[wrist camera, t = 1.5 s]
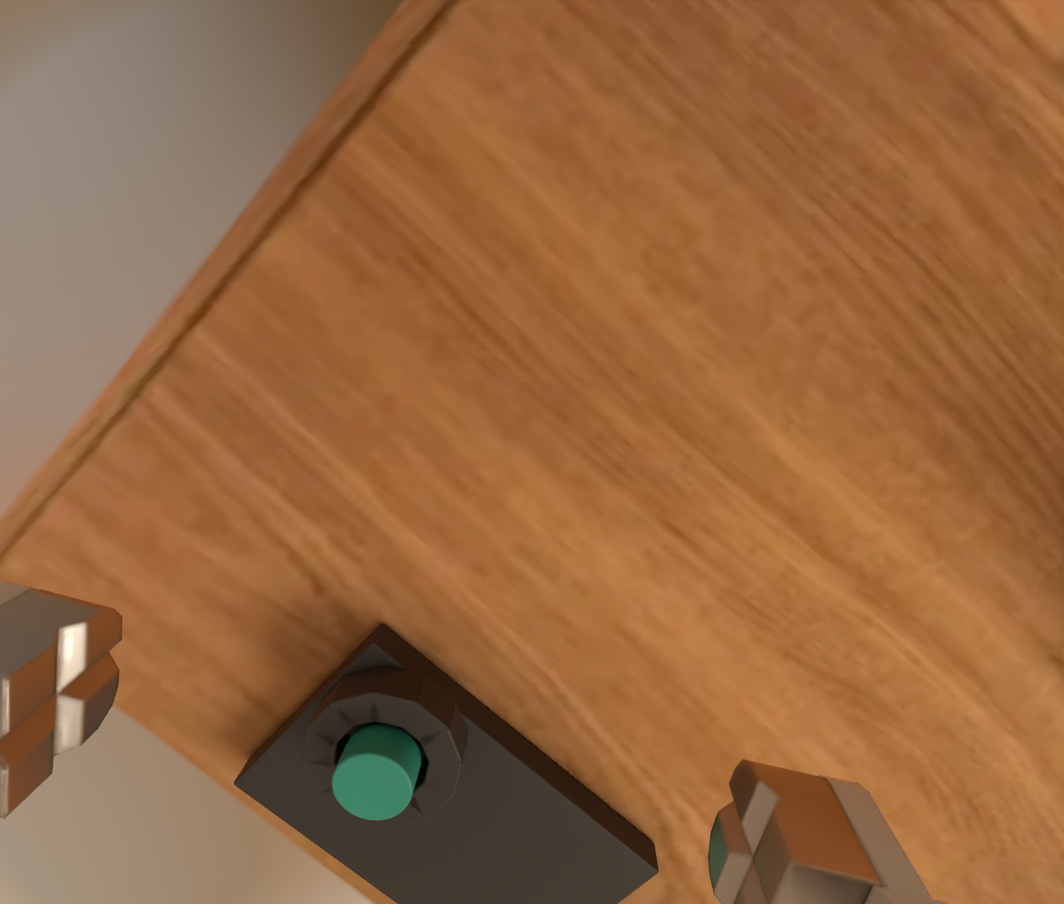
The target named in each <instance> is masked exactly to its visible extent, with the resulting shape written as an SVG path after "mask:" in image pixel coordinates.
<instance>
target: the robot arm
mask: <svg viewBox="0 0 1064 904" xmlns="http://www.w3.org/2000/svg"><path fill="white" fill-rule="evenodd" d="M121 640H122V616H121V615H120V614H119V613H118V612H117V611H116V610H115V609H114V608H110V607H106V606H102V605H98V604H94V603H91V602H87V601H83V600H79V599H75V598H72V597H68V596H64V595H60V594H56V593H52V592H49V591H45V590H37V589H35V588H32V587H28V586H24V585H20V584H16V583H12V582H8V581H4V580H0V818H4V819H5V818H6V817H7V816H8V815H9V814H10V813H11V812H12V811H13V810H14V809H15V808H16V807H17V806H18V805H19V804H20V803H21V802H23V800H25V799H26V798H27V797H28V796H29V795H30V794H31V793H32V792H33V791H34V790H35V789H36V788H37V787H38V786H39V785H40V784H41V783H42V782H43V781H45V779H47V778H48V777H49V776H50V775H51V774H52V769H53V758H54V756H56V755H58V754H61V753H63V752H66V751H69V750H71V749H74V748H76V747H79V746H81V745H82V744H83V743H84V742H85V741H86V740H87V739H88V738H89V737H90V736H91V735H92V734H93V733H94V732H95V731H96V730H97V729H98V728H99V726H100V724H101V723H102V721H103V719H104V718H105V716H106V715H107V713H108V711H109V709H110V708H111V707H112V704H113V701H114V698H115V695H116V692H117V688H118V682H119V671H120V670H119V668H118V666H117V665H116V663H115V661H114V659H113V658H112V656H111V654H110V653H109V651H110V650H111V649H112V648H113V647H114V646H115V645H116V644H117V643H119V642H120V641H121ZM729 785H730V789H731V792H732V795H733V798H734V801H733V802H731V803H730V804H728V805H727V806H725V807H724V808H722V809H721V810H719V811H718V813H717V816H716V819H715V822H714V825H713V828H712V830H711V835H710V844H709V853H708V860H709V873H710V879H711V883H712V888H713V892H714V895H715V896H716V898H717V899H718V900H719V901H720V902H721V904H947V903H945V902H941V901H937V900H933V899H932V898H931V896H930V894H929V893H928V891H927V889H926V888H925V886H924V884H923V882H922V881H921V879H920V877H919V876H918V874H917V872H916V871H915V869H914V867H913V866H912V864H911V862H910V861H909V859H908V857H907V856H906V854H905V852H904V851H903V849H902V847H901V845H900V844H899V842H898V840H897V839H896V837H895V835H894V834H893V832H892V830H891V829H890V827H889V825H888V824H887V822H886V820H885V819H884V817H883V815H882V814H881V812H880V810H879V808H878V807H877V805H876V803H875V802H874V800H873V798H872V797H871V795H870V793H869V792H868V791H867V790H866V789H865V788H864V787H862V786H861V785H860V784H859V783H855V782H850V781H846V780H841V779H836V778H831V777H826V776H821V775H819V776H815V775H811V774H806V773H802V772H798V771H793V770H789V769H785V768H780V767H776V766H772V765H767V764H763V763H759V762H754V761H750V760H746V759H742V761H741V762H740V763H739V764H738V765H737V766H736V768H735V770H734V772H733V775H732V777H731V780H730V782H729Z"/></svg>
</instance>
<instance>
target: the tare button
mask: <svg viewBox="0 0 1064 904" xmlns="http://www.w3.org/2000/svg"><path fill="white" fill-rule="evenodd" d="M420 766H421V754H420V750H419V748H418V746H417V744H416V742H415V741H414V739H413V738H412V737H411V736H410V735H409V734H407V733H406V732H405V731H403V730H401V729H399V728H397V727H395V726H391V725H386V724H373V725H369V726H365V727H363V728H361V729H359V730H358V731H356V732H355V733H354V734H353V735H352V736H351V737H350V739H349V740H348V742H347V744H346V746H345V749H344V751H343V753H342V755H341V757H340V759H339V762H338V764H337V766H336V768H335V770H334V773H333V776H332V789H333V793H334V795H335V797H336V799H337V801H338V802H339V804H340V805H341V806H342V807H343V808H344V809H346V810H347V811H348V812H350V813H351V814H353V815H355V816H357V817H360V818H363V819H368V820H385V819H389V818H392V817H394V816H396V815H398V814H399V813H401V812H402V811H403V810H404V809H405V808H406V807H407V805H408V804H409V802H410V800H411V797H412V794H413V791H414V787H415V784H416V780H417V777H418V773H419V770H420Z"/></svg>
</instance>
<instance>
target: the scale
mask: <svg viewBox="0 0 1064 904" xmlns="http://www.w3.org/2000/svg"><path fill="white" fill-rule="evenodd" d="M373 724H386V725H391V726H395V727H397V728H399V729H401V730H403V731H405V732H406V733H407V734H409V735H410V736H411V737H412V738H413V739H414V741H415V742H416V744H417V746H418V748H419V750H420V754H421V766H420V770H419V773H418V777H417V780H416V784H415V787H414V791H413V794H412V797H411V800H410V802H409V804H408V805H407V807H406V808H405V809H404V810H403V811H402V812H401V813H399V814H398V815H396V816H394V817H392V818H389V819H385V820H368V819H363V818H360V817H357V816H355V815H353V814H351V813H350V812H348V811H347V810H346V809H344V808H343V807H342V806H341V805H340V804H339V802H338V801H337V799H336V797H335V795H334V793H333V789H332V776H333V773H334V770H335V768H336V766H337V764H338V762H339V759H340V757H341V755H342V753H343V751H344V749H345V746H346V744H347V742H348V740H349V739H350V737H351V736H352V735H353V734H354V733H355V732H356V731H358V730H359V729H361V728H363V727H365V726H369V725H373ZM234 785H235V786H237V787H238V788H239V789H241V790H242V791H244V792H245V793H246V794H248V795H249V796H250V797H252V798H253V799H255V800H256V801H257V802H259V803H260V804H261V805H263V806H264V807H266V808H267V809H268V810H270V811H271V812H272V813H274V814H275V815H277V816H278V817H279V818H281V819H282V820H283V821H285V822H286V823H288V824H289V825H290V826H292V827H293V828H294V829H296V830H297V831H299V832H300V833H301V834H303V835H304V836H305V837H307V838H308V839H310V840H311V841H312V842H314V843H315V844H316V845H318V846H319V847H321V848H322V849H323V850H325V851H326V852H327V853H329V854H330V855H332V856H333V857H334V858H336V859H337V860H338V861H340V862H341V863H343V864H344V865H345V866H347V867H348V868H349V869H351V870H352V871H354V872H355V873H356V874H358V875H359V876H360V877H362V878H363V879H365V880H366V881H367V882H369V883H370V884H371V885H373V886H374V887H376V888H377V889H378V890H380V891H381V892H382V893H384V894H385V895H387V896H388V897H389V898H391V899H392V900H393V901H395V902H396V903H398V904H618V903H619V902H620V901H622V900H623V899H624V898H626V897H627V896H628V895H630V894H631V893H632V892H633V891H635V890H636V889H637V888H639V887H640V886H641V885H643V884H644V883H645V882H647V881H648V880H649V879H651V878H652V877H653V876H655V875H656V874H657V873H658V872H659V870H658V864H657V858H656V851H655V845H654V843H653V842H652V841H650V840H649V839H648V838H647V837H646V836H644V835H643V834H642V833H641V832H639V831H638V830H637V829H636V828H634V827H633V826H632V825H631V824H630V823H628V822H627V821H626V820H625V819H623V818H622V817H621V816H620V815H618V814H617V813H616V812H615V811H613V810H612V809H611V808H610V807H609V806H607V805H606V804H605V803H604V802H602V801H601V800H600V799H599V798H597V797H596V796H595V795H594V794H592V793H591V792H590V791H589V790H588V789H586V788H585V787H584V786H583V785H581V784H580V783H579V782H578V781H576V780H575V779H574V778H573V777H572V776H570V775H569V774H568V773H567V772H565V771H564V770H563V769H562V768H560V767H559V766H558V765H557V764H555V763H554V762H553V761H552V760H551V759H549V758H548V757H547V756H546V755H544V754H543V753H542V752H541V751H539V750H538V749H537V748H536V747H534V746H533V745H532V744H531V743H530V742H528V741H527V740H526V739H525V738H523V737H522V736H521V735H520V734H518V733H517V732H516V731H515V730H514V729H512V728H511V727H510V726H509V725H507V724H506V723H505V722H504V721H502V720H501V719H500V718H499V717H497V716H496V715H495V714H494V713H493V712H491V711H490V710H489V709H488V708H486V707H485V706H484V705H483V704H481V703H480V702H479V701H478V700H476V699H475V698H474V697H473V696H472V695H470V694H469V693H468V692H467V691H465V690H464V689H463V688H462V687H460V686H459V685H458V684H457V683H456V682H454V681H453V680H452V679H451V678H449V677H448V676H447V675H446V674H444V673H443V672H442V671H441V670H439V669H438V668H437V667H436V666H435V665H433V664H432V663H431V662H430V661H428V660H427V659H426V658H425V657H423V656H422V655H421V654H420V653H419V652H417V651H416V650H415V649H414V648H412V647H411V646H410V645H409V644H407V643H406V642H405V641H404V640H402V639H401V638H400V637H399V636H398V635H396V634H395V633H394V632H393V631H391V630H390V629H389V628H388V627H386V626H385V625H384V624H382V625H380V626H379V627H378V628H377V629H376V630H375V631H374V632H373V633H372V634H371V635H370V636H369V637H368V638H367V640H366V641H365V642H364V643H363V644H362V645H361V646H360V647H359V648H358V649H357V650H356V651H355V652H354V653H353V654H352V655H351V656H350V657H349V658H348V659H347V660H346V661H345V662H344V663H343V664H342V665H341V666H340V667H339V668H338V669H337V670H336V671H335V672H334V673H333V674H332V675H331V676H330V677H329V678H328V679H327V680H326V681H325V682H324V683H323V684H322V685H321V686H320V687H319V688H318V689H317V690H316V691H315V692H314V693H313V694H312V695H311V696H310V697H309V699H308V700H307V701H306V702H305V703H304V704H303V705H302V706H301V707H300V708H299V709H298V710H297V711H296V712H295V713H294V714H293V715H292V716H291V717H290V718H289V719H288V720H287V721H286V722H285V723H284V724H283V725H282V726H281V727H280V728H279V729H278V730H277V731H276V732H275V733H274V734H273V735H272V736H271V737H270V738H269V739H268V740H267V741H266V742H265V743H264V744H263V745H262V746H261V747H260V748H259V749H258V750H257V751H256V752H255V753H254V754H253V755H252V757H251V758H250V759H249V760H248V761H247V763H246V764H245V766H244V768H243V769H242V771H241V772H240V774H239V775H238V777H237V778H236V780H235V782H234Z"/></svg>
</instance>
